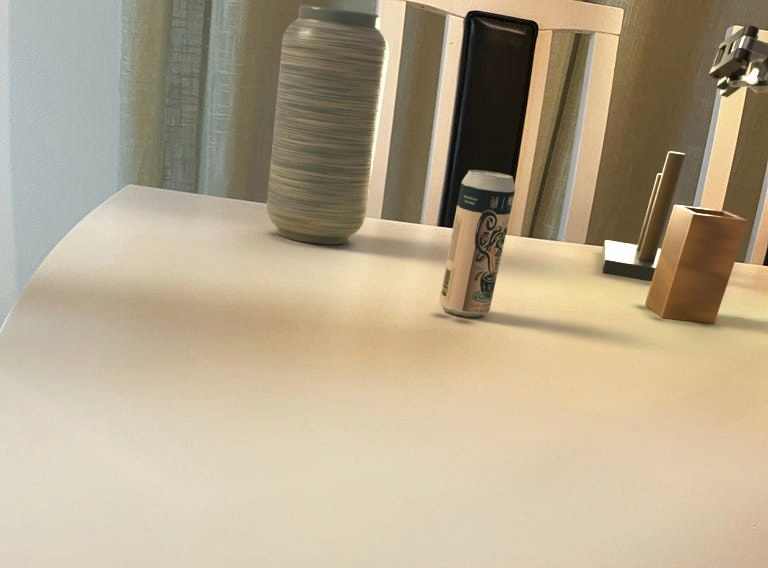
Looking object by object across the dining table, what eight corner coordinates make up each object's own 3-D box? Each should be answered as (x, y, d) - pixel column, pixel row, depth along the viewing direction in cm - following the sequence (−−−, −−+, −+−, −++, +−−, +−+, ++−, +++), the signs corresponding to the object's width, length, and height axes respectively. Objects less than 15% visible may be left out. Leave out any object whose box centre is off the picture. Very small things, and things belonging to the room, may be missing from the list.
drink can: (476, 321, 92) (506, 180, 86) (429, 310, 94) (455, 170, 88) (495, 314, 96) (525, 177, 89) (450, 302, 98) (476, 168, 91)
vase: (306, 249, 112) (335, 8, 100) (244, 227, 119) (264, -1, 107) (381, 246, 119) (416, 20, 107) (318, 225, 126) (344, 11, 114)
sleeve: (695, 310, 108) (726, 211, 103) (714, 323, 103) (748, 220, 98) (644, 304, 108) (673, 204, 102) (661, 317, 103) (693, 213, 98)
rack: (678, 264, 133) (712, 152, 126) (686, 287, 119) (725, 162, 112) (602, 251, 134) (631, 140, 127) (602, 272, 121) (634, 149, 114)
